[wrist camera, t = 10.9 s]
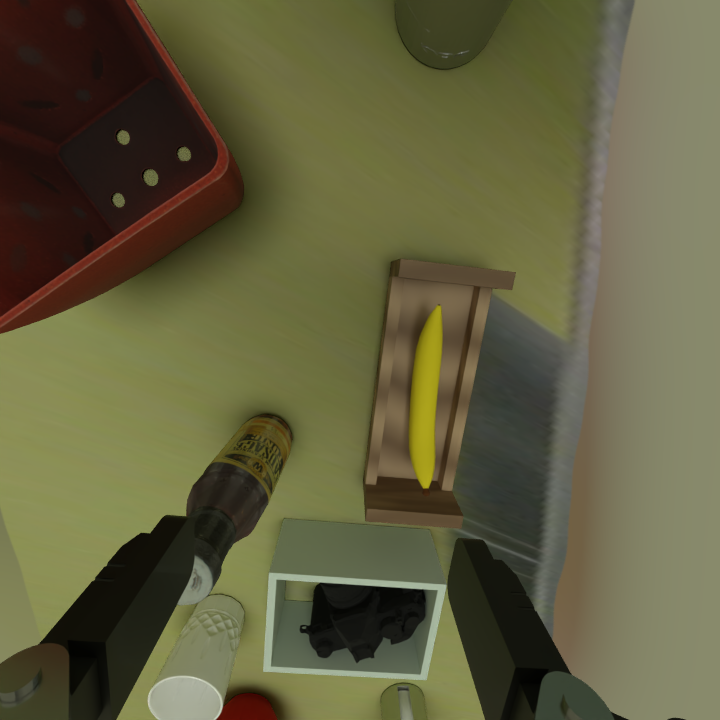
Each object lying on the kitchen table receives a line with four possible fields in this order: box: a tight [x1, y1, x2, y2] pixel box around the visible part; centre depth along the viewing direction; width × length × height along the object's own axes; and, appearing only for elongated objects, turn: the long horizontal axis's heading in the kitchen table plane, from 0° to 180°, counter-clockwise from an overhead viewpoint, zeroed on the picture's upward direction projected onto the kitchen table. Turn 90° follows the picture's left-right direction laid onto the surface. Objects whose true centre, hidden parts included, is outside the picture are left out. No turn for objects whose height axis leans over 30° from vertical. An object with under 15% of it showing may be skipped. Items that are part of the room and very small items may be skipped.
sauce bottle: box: [177, 414, 292, 605], centre depth 30 cm, size 7×6×20 cm
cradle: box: [363, 259, 516, 529], centre depth 35 cm, size 26×10×7 cm, turn 174°
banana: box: [409, 304, 443, 497], centre depth 35 cm, size 3×19×6 cm, turn 178°
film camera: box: [299, 582, 426, 663], centre depth 40 cm, size 15×10×9 cm, turn 110°
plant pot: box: [0, 0, 244, 334], centre depth 25 cm, size 19×19×17 cm
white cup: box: [148, 594, 245, 720], centre depth 41 cm, size 8×8×10 cm
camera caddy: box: [263, 519, 447, 680], centre depth 41 cm, size 14×19×8 cm
